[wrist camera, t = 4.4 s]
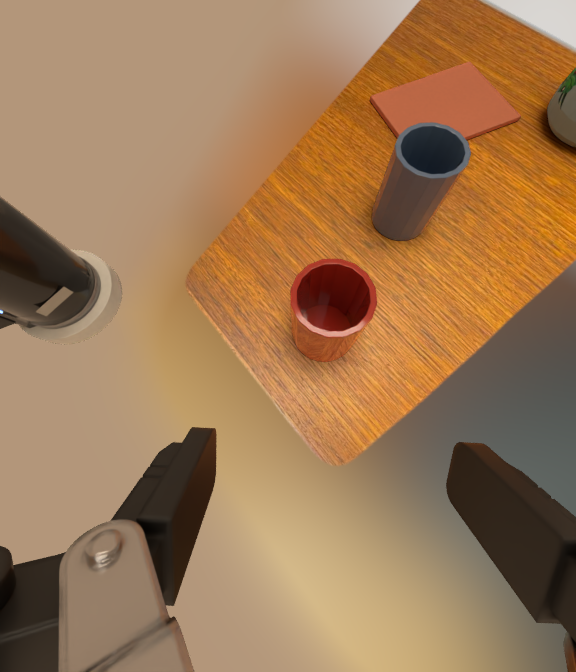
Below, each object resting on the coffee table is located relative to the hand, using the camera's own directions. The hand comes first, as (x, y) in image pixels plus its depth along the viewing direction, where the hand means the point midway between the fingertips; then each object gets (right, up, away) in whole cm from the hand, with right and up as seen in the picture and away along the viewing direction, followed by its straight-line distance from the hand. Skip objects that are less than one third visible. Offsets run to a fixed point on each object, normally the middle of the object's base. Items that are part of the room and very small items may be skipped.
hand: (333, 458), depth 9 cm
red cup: (+2, +5, +21) cm, 22 cm away
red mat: (+20, +35, +30) cm, 50 cm away
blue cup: (+12, +18, +25) cm, 33 cm away
